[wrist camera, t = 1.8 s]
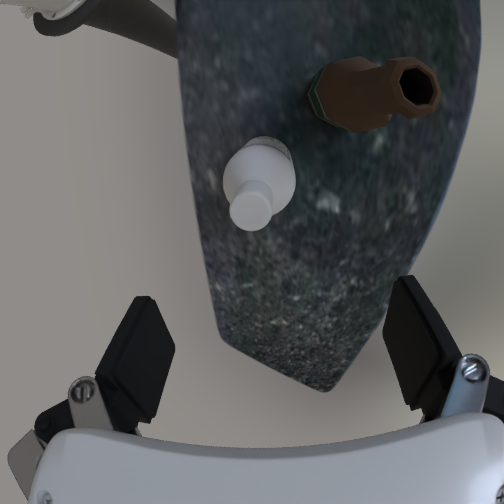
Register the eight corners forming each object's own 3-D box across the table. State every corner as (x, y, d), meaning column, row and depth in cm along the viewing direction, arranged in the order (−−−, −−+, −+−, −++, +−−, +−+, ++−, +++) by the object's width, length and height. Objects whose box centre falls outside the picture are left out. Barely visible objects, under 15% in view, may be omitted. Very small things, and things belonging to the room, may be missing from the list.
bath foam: (234, 141, 35) (186, 177, 17) (284, 129, 33) (289, 150, 16) (247, 188, 38) (218, 264, 20) (296, 177, 36) (310, 247, 19)
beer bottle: (333, 61, 28) (412, 0, 7) (372, 104, 30) (489, 113, 9) (292, 95, 31) (314, 66, 10) (332, 137, 33) (409, 185, 12)
